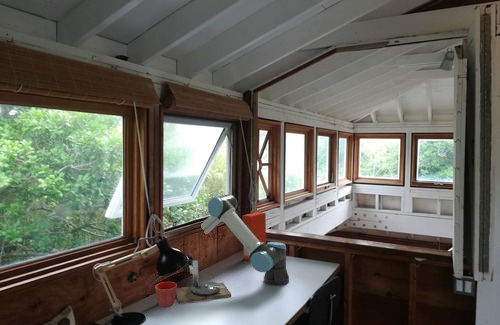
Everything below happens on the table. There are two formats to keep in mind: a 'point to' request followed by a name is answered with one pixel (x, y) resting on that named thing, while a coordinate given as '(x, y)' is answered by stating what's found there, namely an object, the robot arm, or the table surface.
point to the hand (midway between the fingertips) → (191, 271)
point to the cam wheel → (203, 284)
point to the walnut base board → (187, 296)
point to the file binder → (255, 229)
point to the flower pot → (166, 293)
